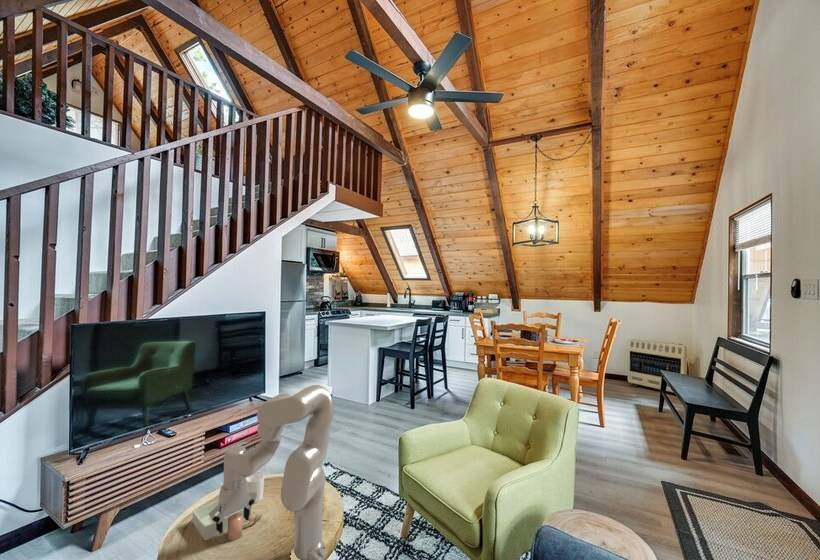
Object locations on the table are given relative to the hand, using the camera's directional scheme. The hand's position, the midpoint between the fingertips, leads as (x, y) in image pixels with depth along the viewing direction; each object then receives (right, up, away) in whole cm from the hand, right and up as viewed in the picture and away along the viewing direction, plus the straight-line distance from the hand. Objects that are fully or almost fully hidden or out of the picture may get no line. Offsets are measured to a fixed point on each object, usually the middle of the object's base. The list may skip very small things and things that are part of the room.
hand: (233, 524), depth 137 cm
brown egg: (+1, -4, 0) cm, 4 cm away
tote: (-8, -4, +8) cm, 12 cm away
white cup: (-1, -4, +22) cm, 22 cm away
